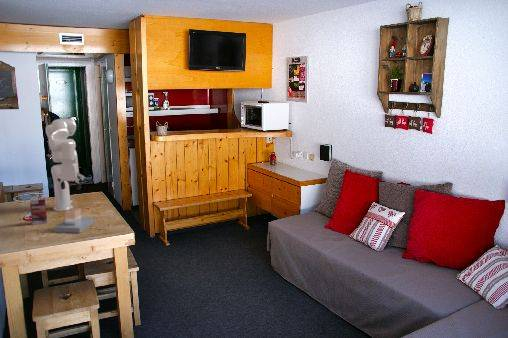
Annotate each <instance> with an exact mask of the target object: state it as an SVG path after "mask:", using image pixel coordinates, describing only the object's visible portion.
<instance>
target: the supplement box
mask: <svg viewBox="0 0 508 338" xmlns="http://www.w3.org/2000/svg"><path fill="white" fill-rule="evenodd" d="M29 203H30V205H29V206H30V215H31V225H32V226H33V225H39V224H40V225H42V224H47V223H48V219H47V208H46V207H47V206H46V205H47V204H46V197H34V198H30V199H29Z"/></svg>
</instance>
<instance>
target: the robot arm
mask: <svg viewBox="0 0 508 338" xmlns="http://www.w3.org/2000/svg"><path fill="white" fill-rule="evenodd" d="M76 130H77V124H76V121H75V120H74V119H73V118H57V119H54V120H53V121H52V122H51V124H48V125H46V126H45V135H46V136H47V138H48V143H49V145H48V146H49V148H50V151H51V158H52V161H53V163H58V164H55V165H52V167H51V169H50V172H51V175H52V180H53V190H54V201H55V206H54V207H53V211H55V212H66V211H68V210H69V209H71V208H74V205H73V204H72V203H73V199H71V196H70V184H69V182H74V181H75V182H76V191H79V190H81V188H82V185H81V183H82V182H83V181H84V179H85V176H84V175H83V174H81V173H80V170H79V161H78V159H79V158H78V153H77V150H76V147H77V145H76V141H75V140H74V139H73V138H68V137H71V136H74V134H75V133H76ZM68 181H69V182H68Z"/></svg>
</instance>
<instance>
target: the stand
mask: <svg viewBox="0 0 508 338" xmlns="http://www.w3.org/2000/svg"><path fill="white" fill-rule="evenodd" d="M81 219H82V221H81V222H79V223H78V224H76V225H66V220H65V219H64V220H63V221H61V222H59V223H58V224H56V225H54V227H53V232H54V233H73V234H75V233H76V234H81V233H82V232H83V231H85V230H87V228H89V227H90V226H91V225H93V224H94V218H86V217H81Z"/></svg>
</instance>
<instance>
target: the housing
mask: <svg viewBox="0 0 508 338" xmlns="http://www.w3.org/2000/svg"><path fill="white" fill-rule="evenodd" d="M64 218H65V219H64V221H65V220H66V225H76V224H78V223H79V222H81V221H82V219H81V218H82V208H80V207H79V208H77V207H76V208H75V207H73V208H71V209H69V210H66V211H64Z"/></svg>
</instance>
